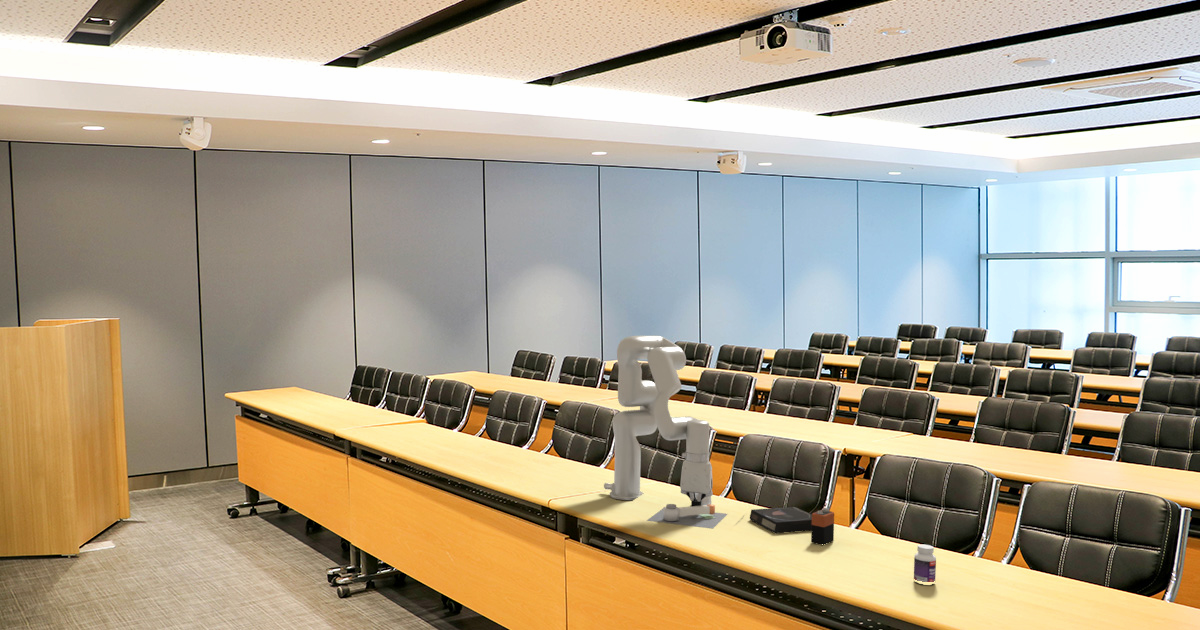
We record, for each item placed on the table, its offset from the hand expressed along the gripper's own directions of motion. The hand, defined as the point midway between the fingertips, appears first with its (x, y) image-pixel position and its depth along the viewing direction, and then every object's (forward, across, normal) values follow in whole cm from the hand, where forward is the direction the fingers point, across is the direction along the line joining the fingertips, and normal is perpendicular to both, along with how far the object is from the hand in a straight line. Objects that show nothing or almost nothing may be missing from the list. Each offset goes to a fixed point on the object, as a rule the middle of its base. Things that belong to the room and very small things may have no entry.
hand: (696, 512), depth 294 cm
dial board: (+2, -2, -4) cm, 5 cm away
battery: (+3, +42, -9) cm, 43 cm away
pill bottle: (+3, +72, -37) cm, 81 cm away
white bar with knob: (+1, -1, -6) cm, 6 cm away
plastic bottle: (+3, -2, +14) cm, 14 cm away
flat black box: (+3, +28, +6) cm, 29 cm away
